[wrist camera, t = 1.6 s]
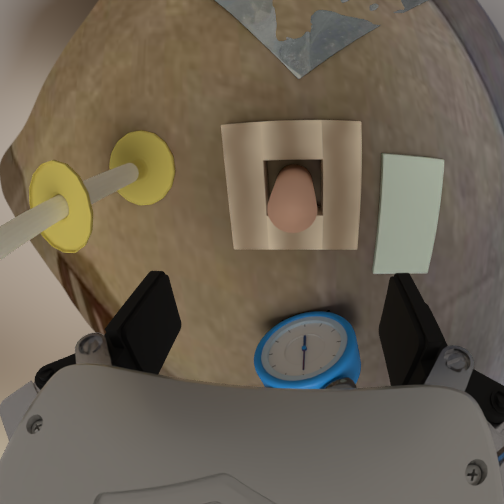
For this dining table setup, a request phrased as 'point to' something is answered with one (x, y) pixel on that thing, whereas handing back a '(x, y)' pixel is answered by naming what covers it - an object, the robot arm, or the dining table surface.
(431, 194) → the mat
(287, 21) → the dining table surface
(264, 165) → the pocket frame
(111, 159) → the candle
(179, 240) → the dining table surface
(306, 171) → the peg
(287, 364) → the alarm clock
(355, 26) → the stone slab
